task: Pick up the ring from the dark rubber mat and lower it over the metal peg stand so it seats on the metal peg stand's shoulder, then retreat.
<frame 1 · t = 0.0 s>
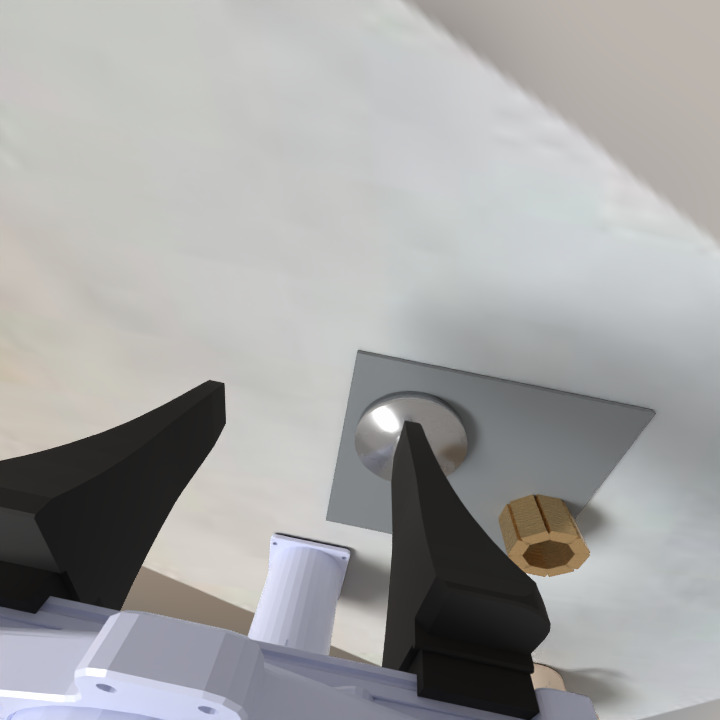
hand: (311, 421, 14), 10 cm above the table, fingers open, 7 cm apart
teacup with lid: (534, 672, 43), on the table
ring: (534, 517, 29), resting on bench mat
metal peg stand: (409, 435, 26), resting on bench mat
bench mat: (462, 471, 28), on the table
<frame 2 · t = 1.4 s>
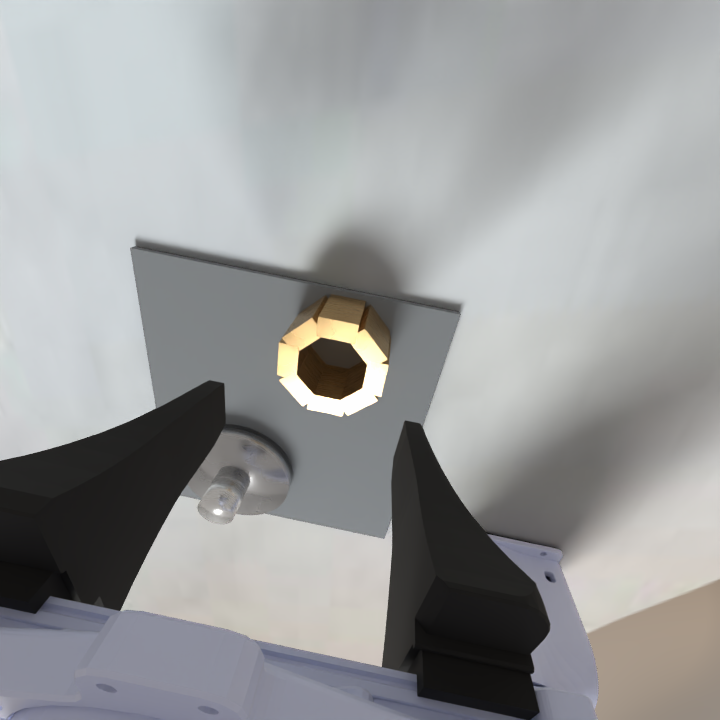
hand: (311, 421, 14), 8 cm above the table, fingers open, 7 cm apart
ring: (341, 341, 20), resting on bench mat
metal peg stand: (240, 465, 26), resting on bench mat
bench mat: (285, 419, 24), on the table
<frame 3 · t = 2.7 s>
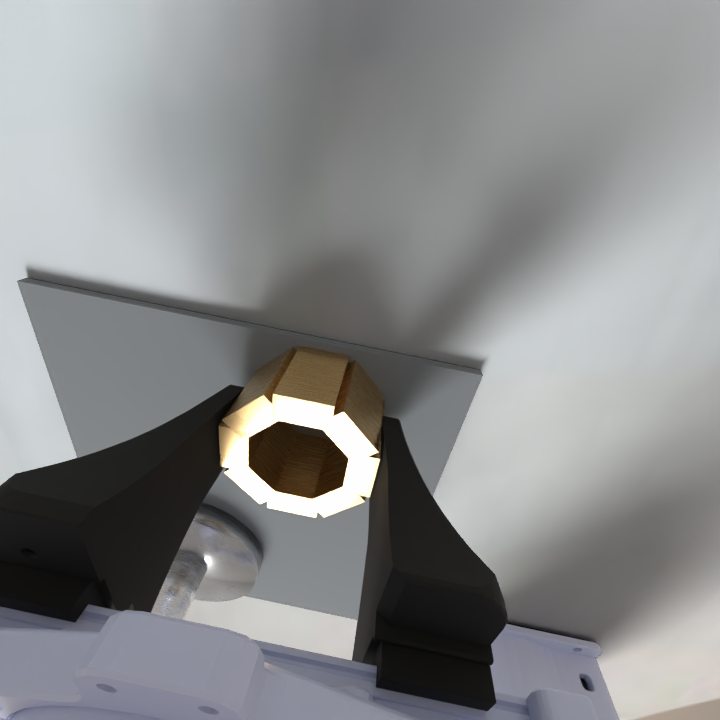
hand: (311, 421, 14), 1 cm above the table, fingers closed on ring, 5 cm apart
ring: (317, 405, 15), resting on bench mat, touching gripper
metal peg stand: (197, 543, 21), resting on bench mat
bench mat: (250, 492, 19), on the table
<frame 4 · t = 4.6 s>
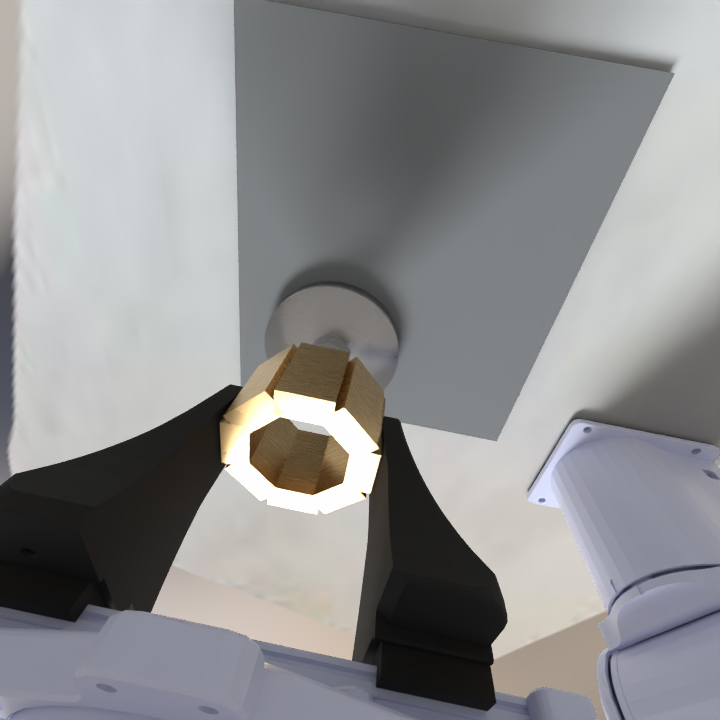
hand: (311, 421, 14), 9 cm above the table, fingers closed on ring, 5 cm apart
ring: (318, 402, 15), point 8 cm above the table, touching gripper
metal peg stand: (334, 344, 22), resting on bench mat
bench mat: (398, 273, 19), on the table
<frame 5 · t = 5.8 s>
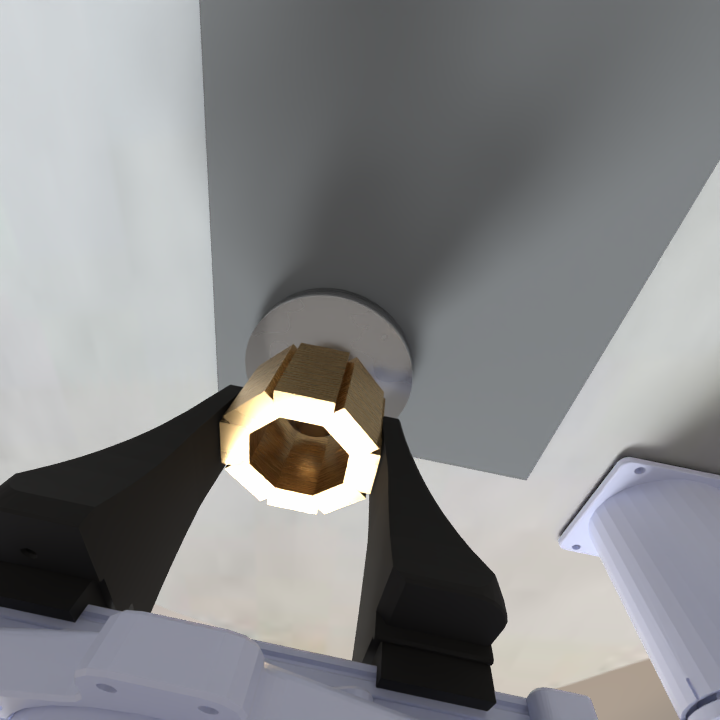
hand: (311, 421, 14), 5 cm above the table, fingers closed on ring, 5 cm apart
ring: (317, 403, 15), point 4 cm above the table, touching gripper
metal peg stand: (331, 365, 18), resting on bench mat
bench mat: (414, 278, 15), on the table
when the fingers open (5 cm above the table, at t = 6.7 s): ring drops 2 cm, resting on metal peg stand.
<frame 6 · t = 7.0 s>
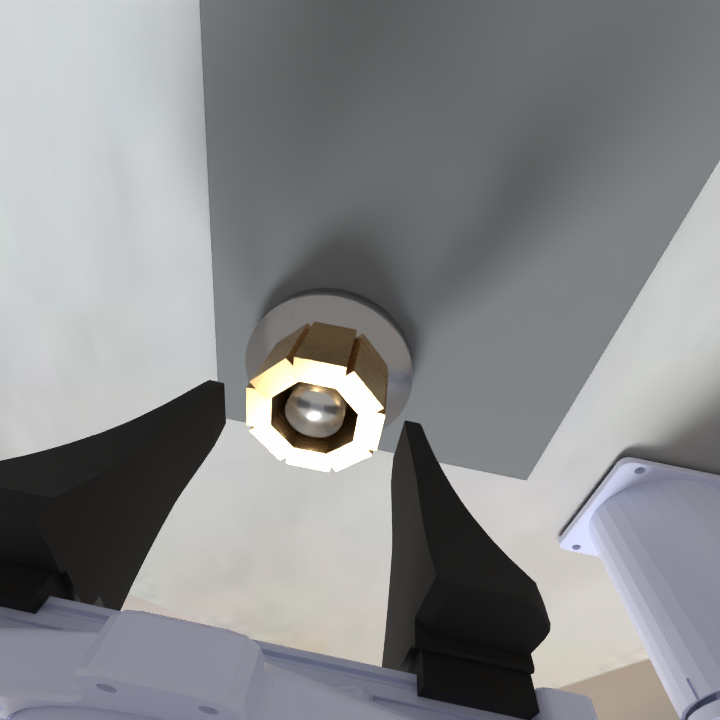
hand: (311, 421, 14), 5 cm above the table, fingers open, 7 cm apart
ring: (328, 376, 16), point 2 cm above the table, touching metal peg stand
metal peg stand: (332, 365, 18), resting on bench mat
bench mat: (414, 278, 15), on the table
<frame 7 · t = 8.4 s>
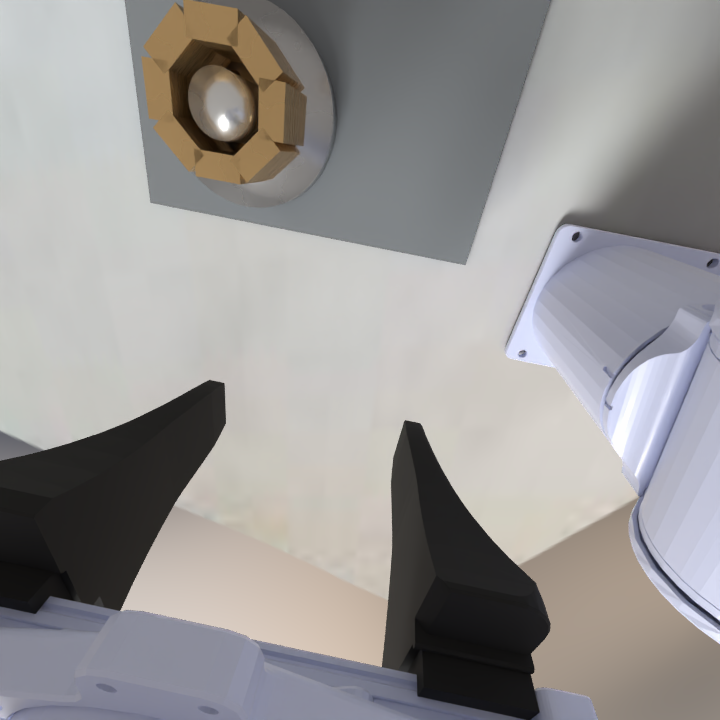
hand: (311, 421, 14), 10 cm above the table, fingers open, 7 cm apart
ring: (247, 111, 16), point 2 cm above the table, touching metal peg stand
metal peg stand: (256, 116, 17), resting on bench mat
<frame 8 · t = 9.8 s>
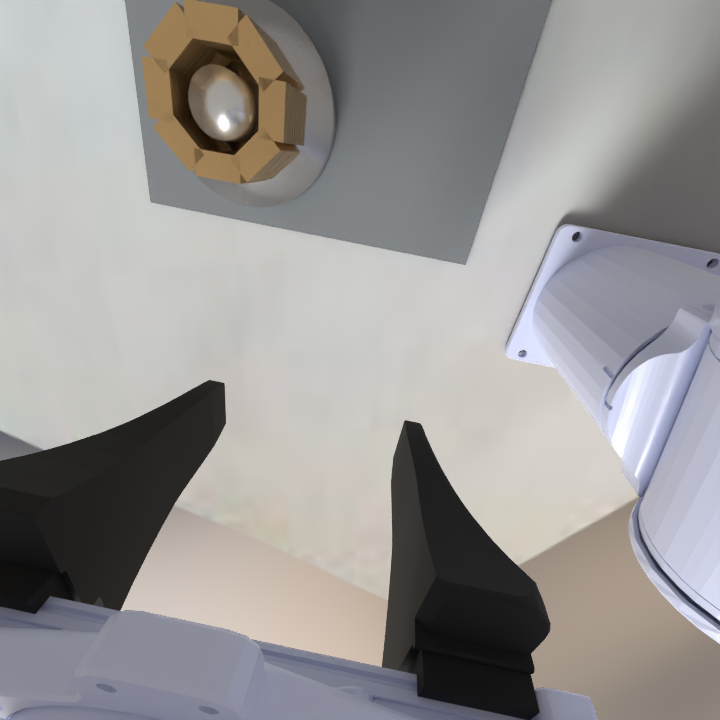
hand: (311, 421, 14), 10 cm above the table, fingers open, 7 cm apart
ring: (247, 111, 16), point 2 cm above the table, touching metal peg stand
metal peg stand: (256, 115, 17), resting on bench mat
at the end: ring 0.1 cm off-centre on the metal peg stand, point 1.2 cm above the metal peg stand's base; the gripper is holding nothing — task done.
